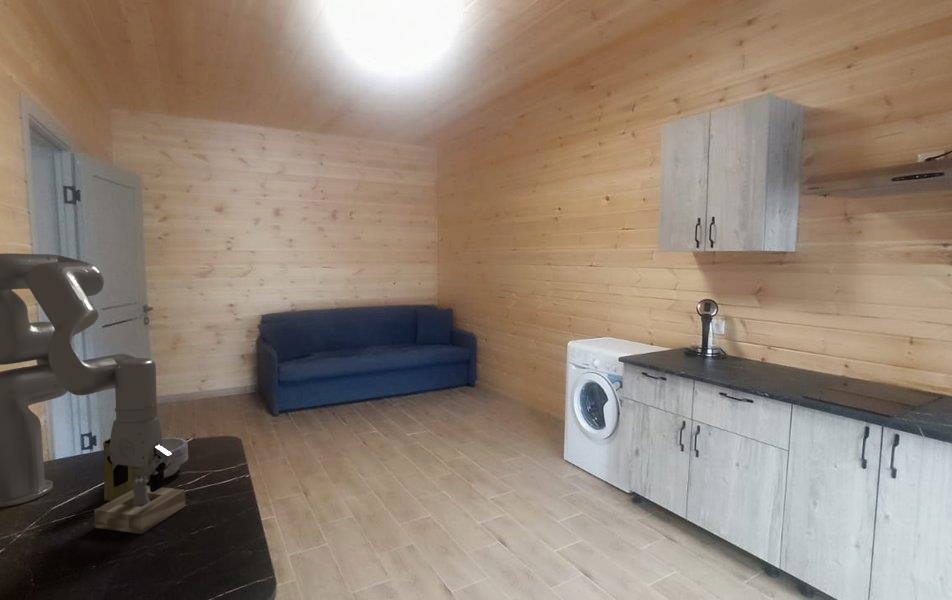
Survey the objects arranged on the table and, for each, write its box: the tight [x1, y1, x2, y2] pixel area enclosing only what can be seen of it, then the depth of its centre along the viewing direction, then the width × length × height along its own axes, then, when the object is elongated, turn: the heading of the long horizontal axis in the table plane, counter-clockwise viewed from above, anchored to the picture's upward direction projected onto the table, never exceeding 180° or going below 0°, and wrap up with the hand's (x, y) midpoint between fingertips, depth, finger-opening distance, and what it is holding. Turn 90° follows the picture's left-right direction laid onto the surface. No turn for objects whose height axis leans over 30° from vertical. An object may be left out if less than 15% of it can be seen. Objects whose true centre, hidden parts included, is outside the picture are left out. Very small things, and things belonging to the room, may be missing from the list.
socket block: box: [94, 485, 186, 535], centre depth 109 cm, size 12×12×4 cm
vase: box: [102, 437, 134, 502], centre depth 119 cm, size 6×6×14 cm
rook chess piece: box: [131, 476, 151, 507], centre depth 109 cm, size 4×4×8 cm
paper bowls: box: [131, 437, 189, 482], centre depth 131 cm, size 15×15×8 cm
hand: (138, 486), depth 109 cm, fingers open, 9 cm apart
